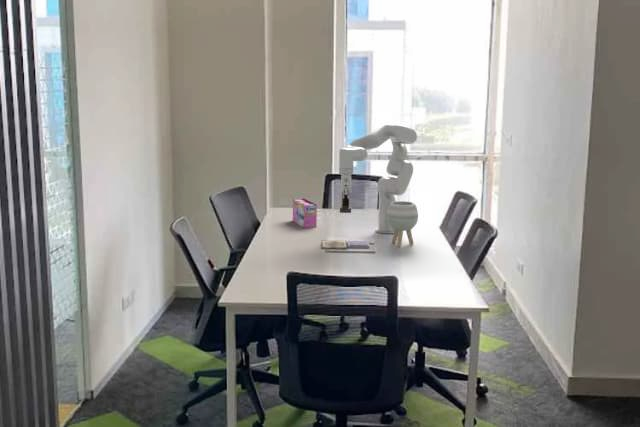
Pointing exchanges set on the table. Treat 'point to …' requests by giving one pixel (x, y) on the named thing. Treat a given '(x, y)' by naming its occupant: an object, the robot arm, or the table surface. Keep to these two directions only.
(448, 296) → the table surface
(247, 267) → the table surface
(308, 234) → the table surface
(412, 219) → the planter
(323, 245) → the marked board
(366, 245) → the ink pad
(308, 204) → the gum box
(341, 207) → the stamp
